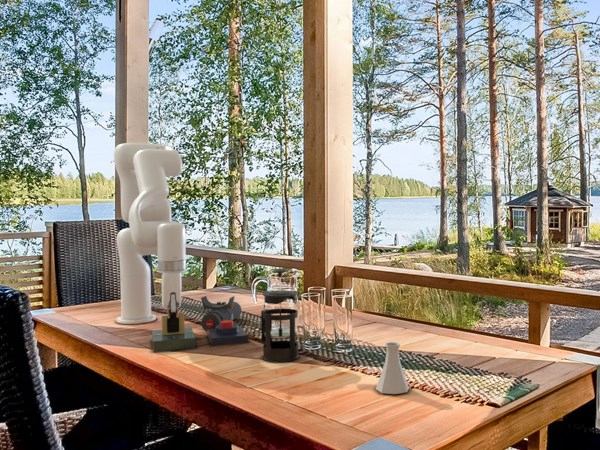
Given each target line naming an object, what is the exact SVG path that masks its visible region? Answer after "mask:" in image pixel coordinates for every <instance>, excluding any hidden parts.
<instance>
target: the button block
mask: <svg viewBox="0 0 600 450" xmlns="http://www.w3.org/2000/svg"><path fill="white" fill-rule="evenodd" d="M206 332H207V333H206V334H207V339H208V340H209V342H210V345H211V346H212V347H215V346H216V347H217V346H227V345H238V344H247V343H249V335H248V333H247V332H246V331H245V330H244V328H243V327H242V326H239V324H237V323H233V327H229V328H222V327H221V325H217V326H216V327H215V329H207V331H206Z"/></svg>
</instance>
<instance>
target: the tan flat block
mask: <svg viewBox="0 0 600 450" xmlns="http://www.w3.org/2000/svg"><path fill="white" fill-rule="evenodd" d="M167 318H168V314H167V313H166V314H165V313H163V314H161V330H162V335H173V334H184V333H185V328H186V326H185V313H184V312H178V318H179V332H173V333H168V332H167Z"/></svg>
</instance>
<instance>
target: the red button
mask: <svg viewBox="0 0 600 450" xmlns="http://www.w3.org/2000/svg"><path fill="white" fill-rule="evenodd" d="M233 324H234V320H233V321H232V320H224V321H221V327H222V328H229V327H233Z"/></svg>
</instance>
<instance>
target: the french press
mask: <svg viewBox="0 0 600 450" xmlns="http://www.w3.org/2000/svg"><path fill="white" fill-rule="evenodd" d="M271 272H272V273H277V277H278V279H279V281H278V282H279V283H278V284H279V287H278V289H279V290H270V291H269V290H268V291H264V292H263V293H262V296H263V297H264V299H263V300H264V303H265V304H269V305H279V308H271V309H263V310H261V311H260V314H261V316H260V320H261V321H260V322H261V323H260V325H261V326H260V327H261V328H260V331H261V344H262V352H263V353H262V360H263V361H265V362H269V363H288V362H293V361H296V360H298V359H299V358H300V354H299V343H298V342H296V336H297V331H296V319H297V318H298V316H299V311H298V310H297V309H293V308H282V303H283V302H284V301H285V300H293V301H297V295H298V294H299V293H298V292H297V291H294V290H285V289H282V277H283V273H288V272H289V270H288V269H286V268H285V269H283V268H278V269H273V270H271ZM277 314H278V315H277ZM273 321H279V328H278V329H273V328H272V327H273V325H272V323H273ZM282 321H289V329H283V328H282ZM286 339H289V340H286Z"/></svg>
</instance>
